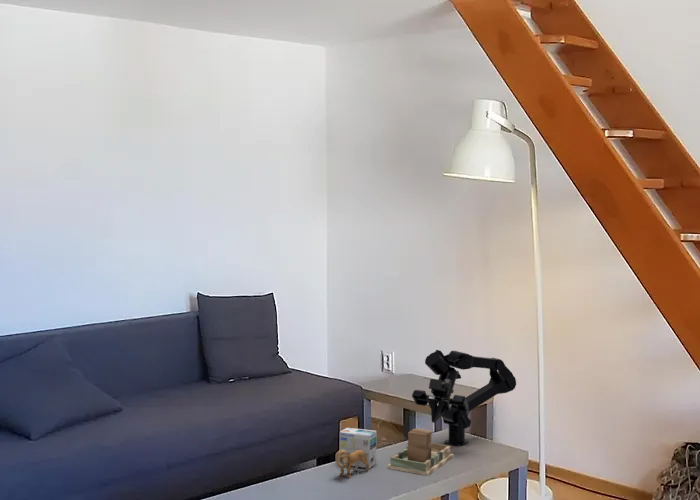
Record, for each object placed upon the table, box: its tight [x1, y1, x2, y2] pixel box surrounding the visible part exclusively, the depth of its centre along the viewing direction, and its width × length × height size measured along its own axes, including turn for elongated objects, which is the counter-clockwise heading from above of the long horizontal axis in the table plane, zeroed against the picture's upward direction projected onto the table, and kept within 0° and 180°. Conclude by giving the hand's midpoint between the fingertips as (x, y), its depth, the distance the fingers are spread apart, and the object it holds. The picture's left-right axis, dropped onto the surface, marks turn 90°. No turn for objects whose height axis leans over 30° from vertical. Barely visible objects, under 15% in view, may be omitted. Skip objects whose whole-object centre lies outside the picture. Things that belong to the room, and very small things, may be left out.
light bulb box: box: [338, 427, 378, 469], centre depth 268 cm, size 11×7×11 cm, turn 69°
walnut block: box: [407, 428, 433, 463], centre depth 269 cm, size 5×6×9 cm
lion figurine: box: [335, 450, 370, 478], centre depth 259 cm, size 15×5×9 cm, turn 142°
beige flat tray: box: [387, 442, 454, 477], centre depth 271 cm, size 21×14×4 cm, turn 151°
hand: (433, 421), depth 278 cm, fingers closed
